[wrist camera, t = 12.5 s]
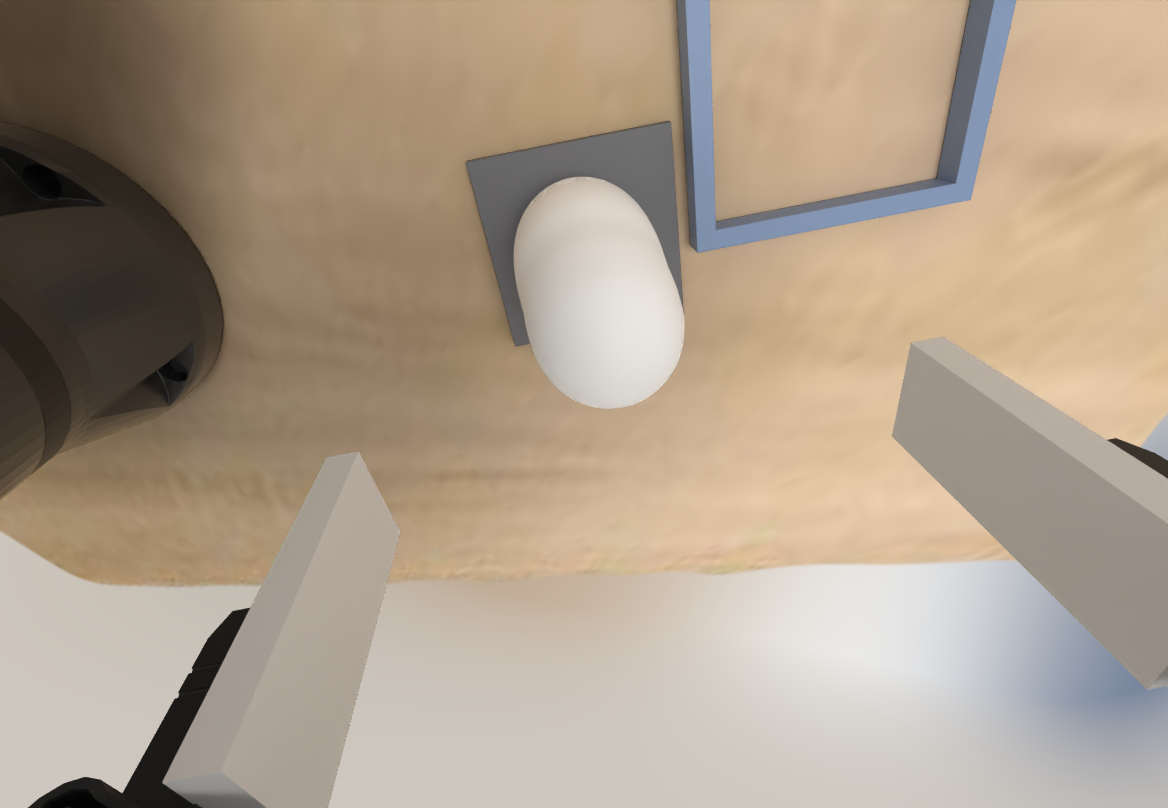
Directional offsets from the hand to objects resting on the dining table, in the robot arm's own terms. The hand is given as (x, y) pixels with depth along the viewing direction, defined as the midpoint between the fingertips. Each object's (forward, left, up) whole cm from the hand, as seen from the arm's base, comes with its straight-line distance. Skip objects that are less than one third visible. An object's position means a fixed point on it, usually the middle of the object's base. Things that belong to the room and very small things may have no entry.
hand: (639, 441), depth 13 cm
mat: (0, 0, -18) cm, 18 cm away
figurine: (0, 0, -18) cm, 18 cm away
